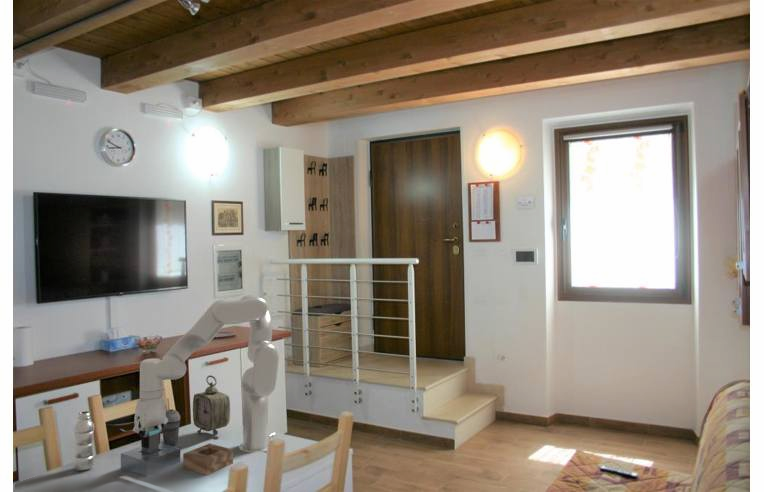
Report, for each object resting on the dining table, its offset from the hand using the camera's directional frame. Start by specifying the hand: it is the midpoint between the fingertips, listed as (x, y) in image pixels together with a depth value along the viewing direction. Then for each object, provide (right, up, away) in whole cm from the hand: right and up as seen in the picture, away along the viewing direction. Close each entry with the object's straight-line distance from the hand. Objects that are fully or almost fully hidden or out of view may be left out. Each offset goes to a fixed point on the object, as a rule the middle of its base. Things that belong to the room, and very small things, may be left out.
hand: (150, 444), depth 200 cm
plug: (0, -6, 0) cm, 6 cm away
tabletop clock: (+12, -8, +34) cm, 37 cm away
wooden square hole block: (+21, -8, 0) cm, 22 cm away
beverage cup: (+1, -8, +17) cm, 19 cm away
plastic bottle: (-23, -8, -2) cm, 24 cm away
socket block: (0, -8, 0) cm, 8 cm away
